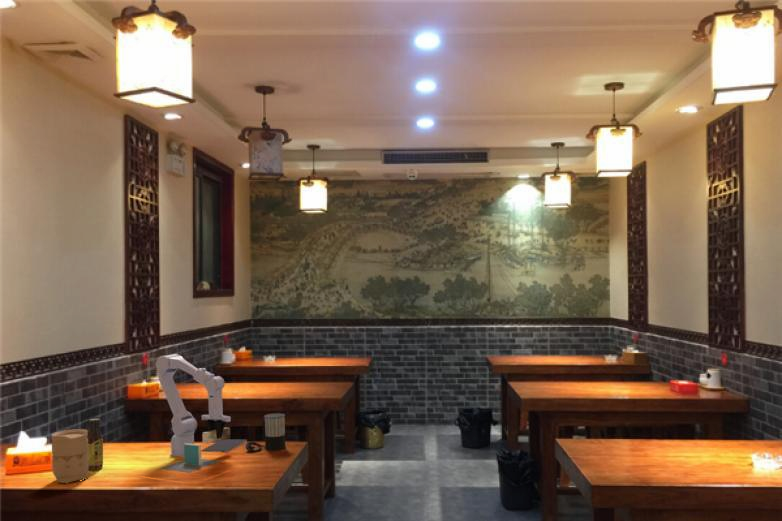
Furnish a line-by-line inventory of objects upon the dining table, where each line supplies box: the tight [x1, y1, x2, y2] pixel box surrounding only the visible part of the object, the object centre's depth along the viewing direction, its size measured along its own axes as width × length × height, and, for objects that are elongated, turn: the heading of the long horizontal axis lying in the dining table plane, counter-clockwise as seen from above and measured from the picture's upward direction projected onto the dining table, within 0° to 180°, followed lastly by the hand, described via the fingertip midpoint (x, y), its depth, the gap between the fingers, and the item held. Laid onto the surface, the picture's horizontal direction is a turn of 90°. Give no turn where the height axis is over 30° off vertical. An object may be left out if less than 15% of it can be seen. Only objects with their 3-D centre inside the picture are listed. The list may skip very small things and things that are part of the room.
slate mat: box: [159, 458, 222, 473], centre depth 280 cm, size 16×18×1 cm
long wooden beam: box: [202, 426, 231, 445], centre depth 294 cm, size 14×2×4 cm, turn 152°
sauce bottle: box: [87, 418, 104, 471], centre depth 282 cm, size 7×6×20 cm
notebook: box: [201, 438, 248, 453], centre depth 312 cm, size 13×2×21 cm
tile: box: [183, 443, 202, 465], centre depth 281 cm, size 2×8×8 cm, turn 62°
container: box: [51, 428, 89, 484], centre depth 267 cm, size 13×13×18 cm
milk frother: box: [245, 412, 287, 453], centre depth 303 cm, size 14×16×15 cm
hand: (216, 437), depth 293 cm, fingers closed on long wooden beam, 2 cm apart
